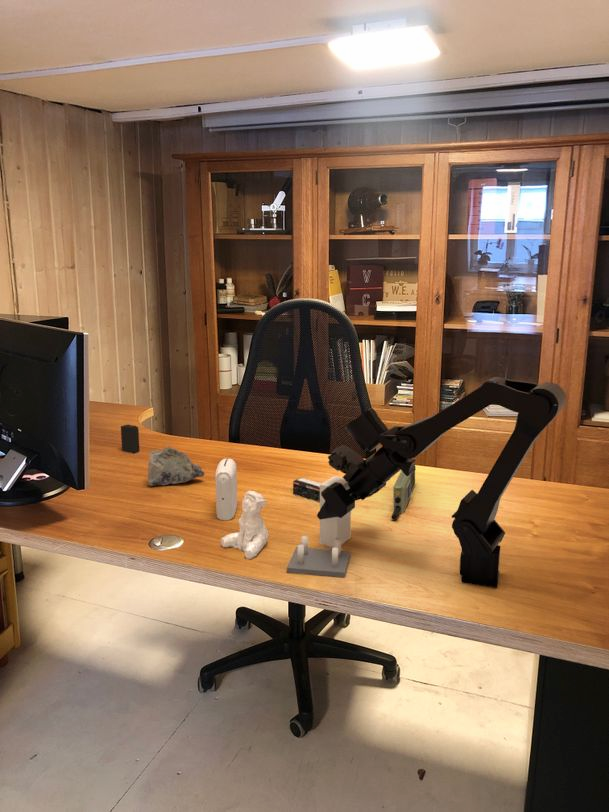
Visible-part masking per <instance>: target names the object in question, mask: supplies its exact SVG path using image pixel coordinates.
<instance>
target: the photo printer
mask: <svg viewBox="0 0 609 812" xmlns="http://www.w3.org/2000/svg"><path fill="white" fill-rule="evenodd" d="M237 468H238V467H237V463H236V462H235V460H234V459H232V458H226V457H225V458H223V459H222V460H220V462H219V463H218V465H217V467H216V470H215V477H214V478H215V480H214V481H215V504H216V505H215V506H216V509H215V510H216V518H217V519H218V520H220V521H230V520H232V519H233V518H234V517H235V514H236V511H237V506H238V475H237Z"/></svg>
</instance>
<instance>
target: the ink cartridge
mask: <svg viewBox="0 0 609 812" xmlns="http://www.w3.org/2000/svg"><path fill="white" fill-rule="evenodd" d="M120 434H121V435H120V436H121V451H122V452H125V453H129V454H136V453H139V452H140V451H141V450H140V436H139V435H140V434H139V427H138V426H137V425H133V424H124V425H122V426H121V425H120Z"/></svg>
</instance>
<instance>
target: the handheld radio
mask: <svg viewBox="0 0 609 812" xmlns="http://www.w3.org/2000/svg"><path fill="white" fill-rule="evenodd" d="M399 472H400V473H399V474H398V476H397V479H396V481H395V483H394V485H393V487H392V488H393V491H392V492H393V494H392V495H393V499H392V500H393V501H392V502H393V512H392V513H391V517H390V518H391V520H393V521H396V520H397V519H398V517H399V516H400V515H399V514H400V513H401V514H403V513H404V512H405V510H406V507H407V505H408V503H409V500H410V499H411V496H412V494H413V491H414V488H415V487H416V470H415V471H414V472H413V473H412V474H410V475H409V476H406V475H405V474H404V473H403V471H402V470H400V471H399Z"/></svg>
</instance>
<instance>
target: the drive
mask: <svg viewBox="0 0 609 812" xmlns="http://www.w3.org/2000/svg"><path fill="white" fill-rule="evenodd" d="M335 482H338V483H341V484H342V485H343V486H344V487H345V489H346V490H348V489H349V488H350V487H349V486H348V483H349V482H348V481H347V482H346V481H345V479H344V478H343V477H341V476H337V475H334V476H332V477H331V478H328V479H327V480H325V481H324V482H321V483H322V484H320V502H319V510H320V509H321V507H322V506H323V504H324V502H325V500H324V498H323V497H322V496H321V492H322V491H323V490H324V489H325V488H327V487H328V486H330V485H331V484H333V483H335ZM351 516H352V510H351V511H350V512H349V513H347V514H346V515H345V516H343V517H342V518H339V517H333V518H327V519H321V520H320V519H319V544H320V545H322V546H326V547H329V548H333V547H335V539H336V538H340V539H341V546H342V545H343V544H344V543H346V541H348V540H349V539H350V538H351V531H352V530H351V526H352V523H351V522H352V518H351Z"/></svg>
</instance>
